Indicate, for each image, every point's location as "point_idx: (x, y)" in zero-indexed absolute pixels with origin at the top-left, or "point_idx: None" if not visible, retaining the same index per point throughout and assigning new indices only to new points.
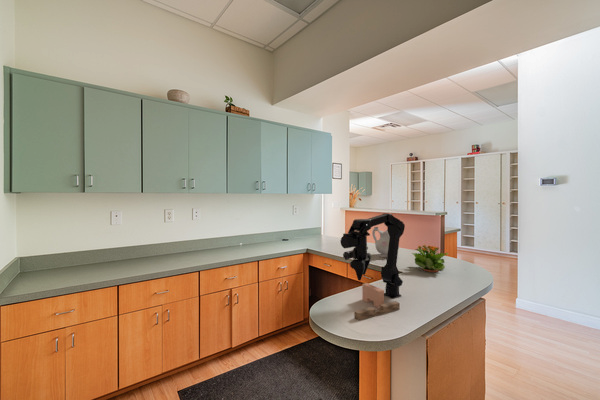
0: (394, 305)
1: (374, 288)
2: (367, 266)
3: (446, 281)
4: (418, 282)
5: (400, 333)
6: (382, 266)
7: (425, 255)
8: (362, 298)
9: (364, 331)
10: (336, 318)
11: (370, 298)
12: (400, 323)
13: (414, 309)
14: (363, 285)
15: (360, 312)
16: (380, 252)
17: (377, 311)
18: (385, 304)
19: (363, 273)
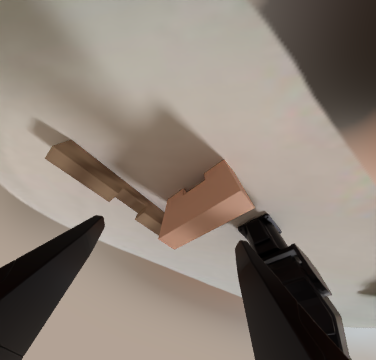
0: None
1: (185, 229)
2: (255, 350)
3: None
4: (337, 272)
5: (67, 224)
6: (333, 333)
7: None
8: (224, 160)
9: (19, 167)
10: (24, 72)
11: (193, 190)
12: (108, 228)
13: (183, 250)
14: (232, 191)
15: (57, 165)
16: None
17: (122, 200)
18: (152, 223)
19: (240, 251)
